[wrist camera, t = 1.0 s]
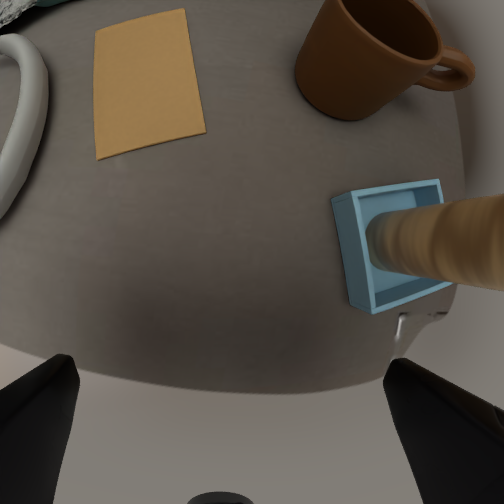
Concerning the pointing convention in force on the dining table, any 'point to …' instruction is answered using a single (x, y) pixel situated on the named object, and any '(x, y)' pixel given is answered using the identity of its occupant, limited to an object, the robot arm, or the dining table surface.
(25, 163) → the headphones
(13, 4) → the stone
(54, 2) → the shallow long dish
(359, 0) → the mug
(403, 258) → the pepper mill
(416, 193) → the tub
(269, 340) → the dining table surface
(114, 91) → the mat
